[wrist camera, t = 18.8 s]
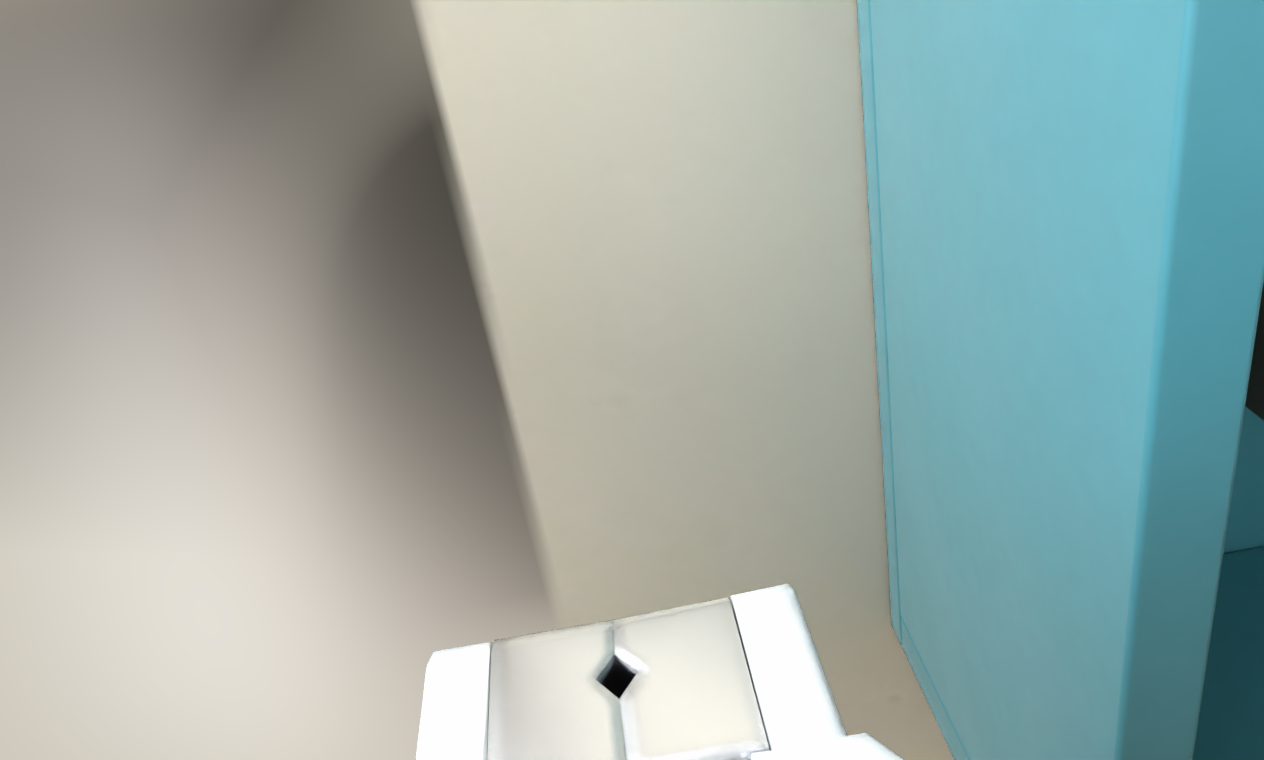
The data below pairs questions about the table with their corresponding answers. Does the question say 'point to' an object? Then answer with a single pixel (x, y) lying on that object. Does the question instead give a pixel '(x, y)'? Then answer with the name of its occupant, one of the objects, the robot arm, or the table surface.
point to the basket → (1072, 368)
